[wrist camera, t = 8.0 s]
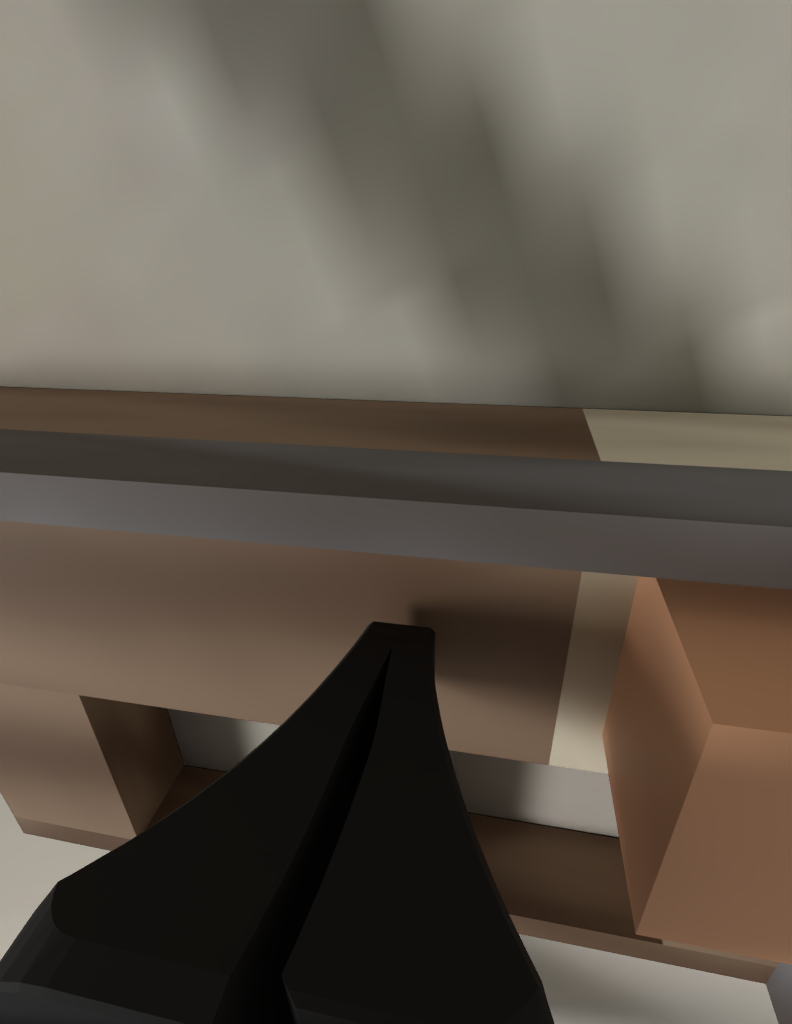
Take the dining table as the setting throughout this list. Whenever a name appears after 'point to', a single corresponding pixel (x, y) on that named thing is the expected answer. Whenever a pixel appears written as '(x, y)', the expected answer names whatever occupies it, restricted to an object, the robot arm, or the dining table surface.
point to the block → (706, 765)
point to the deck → (358, 595)
